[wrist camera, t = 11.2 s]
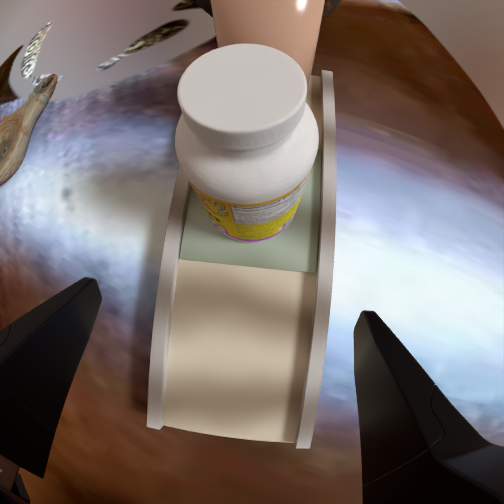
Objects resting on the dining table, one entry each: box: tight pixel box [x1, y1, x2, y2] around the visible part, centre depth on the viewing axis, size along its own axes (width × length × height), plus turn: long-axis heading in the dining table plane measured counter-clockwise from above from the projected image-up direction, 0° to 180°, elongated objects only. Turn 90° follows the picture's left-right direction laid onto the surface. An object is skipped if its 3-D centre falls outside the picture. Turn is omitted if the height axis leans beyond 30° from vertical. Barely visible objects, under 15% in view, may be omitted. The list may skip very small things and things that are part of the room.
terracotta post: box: [211, 0, 325, 96], centre depth 18 cm, size 7×7×13 cm
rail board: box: [147, 70, 336, 448], centre depth 22 cm, size 32×12×2 cm, turn 174°
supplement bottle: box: [175, 44, 319, 243], centre depth 15 cm, size 7×7×13 cm
